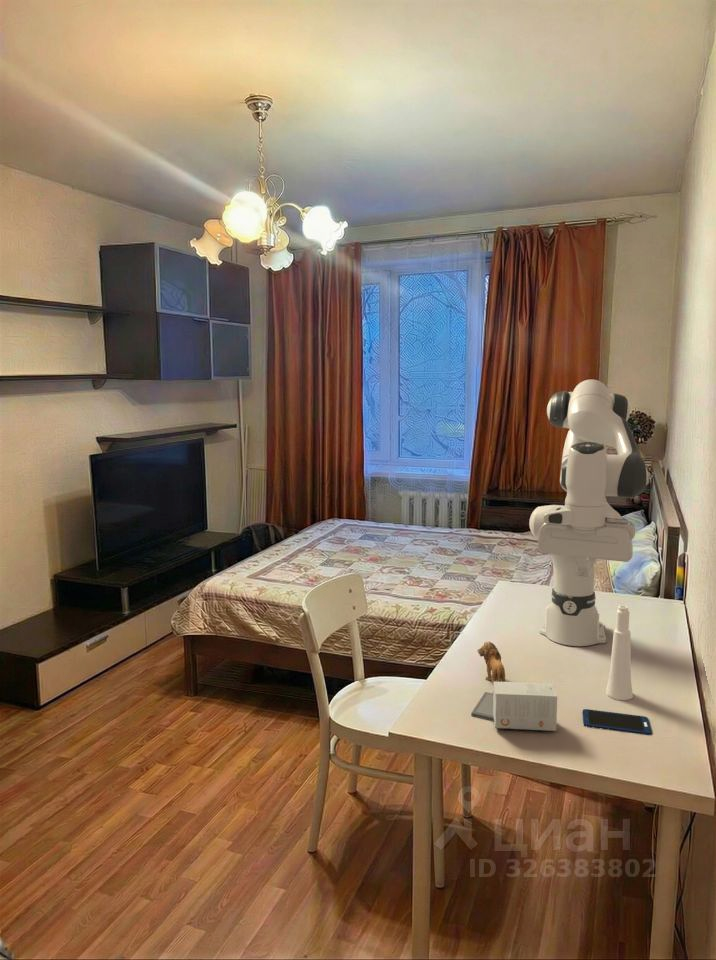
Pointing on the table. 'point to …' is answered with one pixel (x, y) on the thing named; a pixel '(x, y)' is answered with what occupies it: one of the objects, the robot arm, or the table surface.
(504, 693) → the small box
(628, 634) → the cosmetic bottle
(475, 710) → the grey tablet
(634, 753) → the table surface
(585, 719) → the cell phone
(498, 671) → the lion figurine
